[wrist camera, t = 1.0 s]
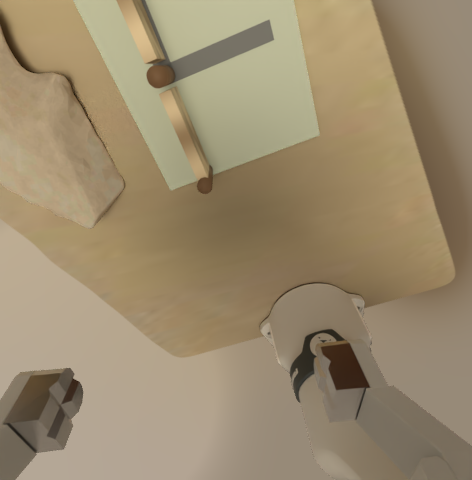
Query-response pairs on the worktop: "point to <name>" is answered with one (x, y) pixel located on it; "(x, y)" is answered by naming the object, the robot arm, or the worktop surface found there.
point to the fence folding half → (188, 138)
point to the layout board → (212, 78)
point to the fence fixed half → (146, 42)
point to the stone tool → (52, 146)
